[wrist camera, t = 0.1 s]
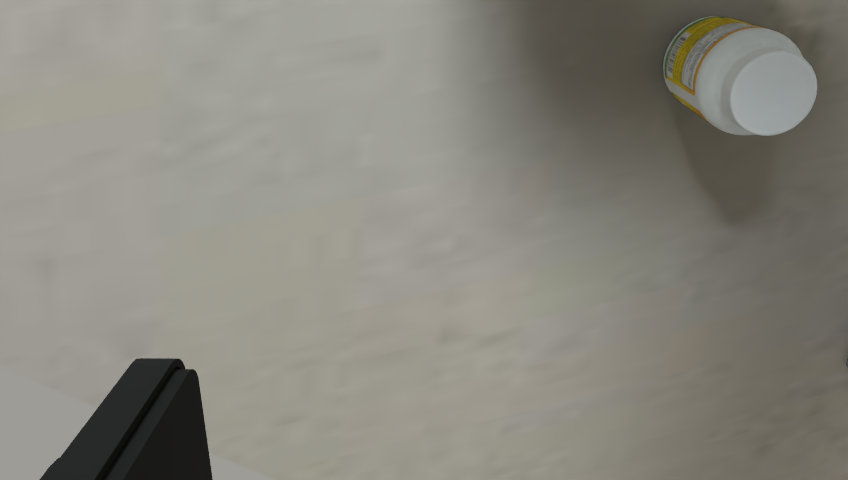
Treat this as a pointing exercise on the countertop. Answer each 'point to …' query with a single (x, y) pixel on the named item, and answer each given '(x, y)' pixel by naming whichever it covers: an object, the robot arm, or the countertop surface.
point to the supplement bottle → (740, 76)
